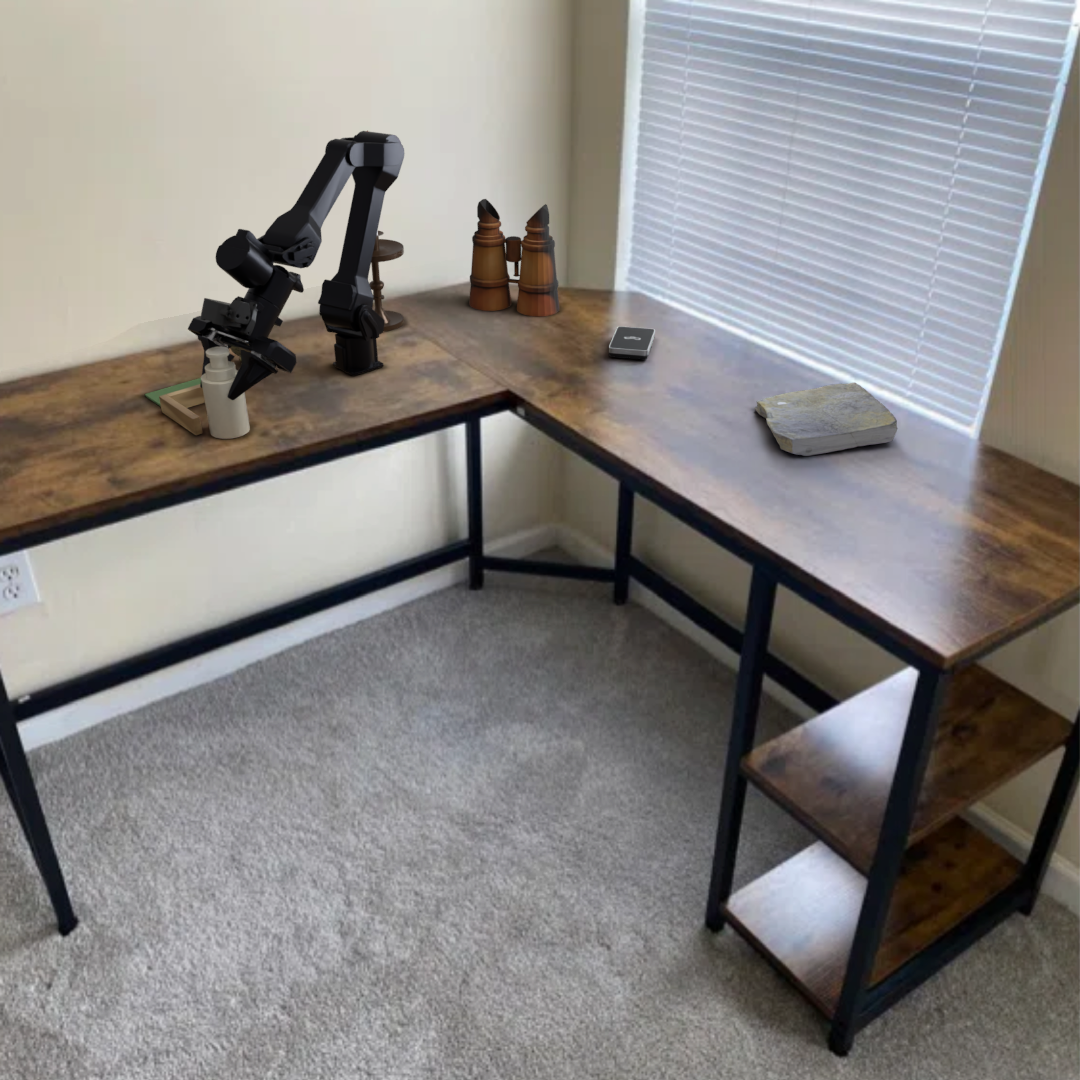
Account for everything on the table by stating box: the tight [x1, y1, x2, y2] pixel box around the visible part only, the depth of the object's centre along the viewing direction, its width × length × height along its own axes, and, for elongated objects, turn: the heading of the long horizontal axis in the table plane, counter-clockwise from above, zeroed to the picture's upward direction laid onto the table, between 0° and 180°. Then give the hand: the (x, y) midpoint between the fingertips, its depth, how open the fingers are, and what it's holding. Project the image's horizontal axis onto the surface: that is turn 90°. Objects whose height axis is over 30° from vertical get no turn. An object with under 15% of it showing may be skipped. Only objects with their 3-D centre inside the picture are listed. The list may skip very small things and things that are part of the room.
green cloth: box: [144, 377, 201, 408], centre depth 185 cm, size 12×6×1 cm, turn 132°
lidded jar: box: [200, 347, 251, 440], centre depth 169 cm, size 6×6×13 cm
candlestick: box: [366, 130, 405, 332], centre depth 203 cm, size 11×11×35 cm
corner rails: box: [159, 384, 205, 436], centre depth 177 cm, size 13×11×3 cm
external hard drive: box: [608, 325, 656, 361], centre depth 200 cm, size 7×11×2 cm, turn 168°
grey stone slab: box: [754, 382, 898, 457], centre depth 172 cm, size 20×5×17 cm
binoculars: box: [468, 198, 561, 317], centre depth 215 cm, size 18×8×20 cm, turn 72°
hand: (216, 393), depth 168 cm, fingers closed on lidded jar, 6 cm apart
